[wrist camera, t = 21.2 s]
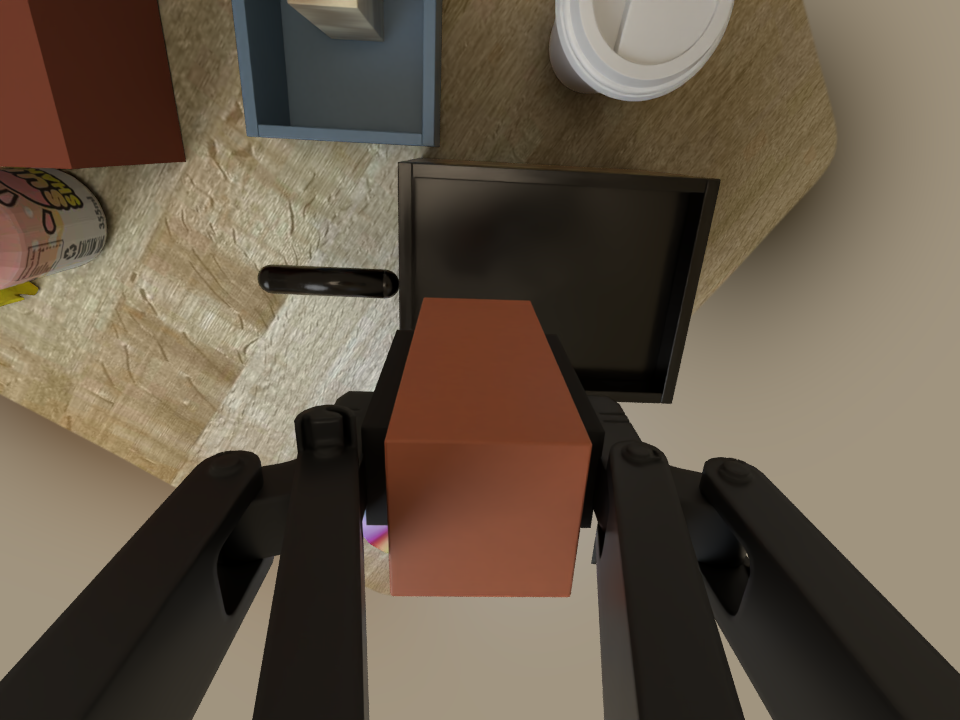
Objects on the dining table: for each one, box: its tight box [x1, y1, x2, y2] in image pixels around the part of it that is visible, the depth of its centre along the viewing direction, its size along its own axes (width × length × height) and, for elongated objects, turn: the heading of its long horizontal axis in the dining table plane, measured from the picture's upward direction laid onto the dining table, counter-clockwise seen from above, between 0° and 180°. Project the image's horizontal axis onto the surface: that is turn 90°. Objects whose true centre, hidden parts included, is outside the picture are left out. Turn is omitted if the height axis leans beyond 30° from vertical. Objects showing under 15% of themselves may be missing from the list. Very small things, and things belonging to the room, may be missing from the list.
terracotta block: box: [384, 298, 592, 597], centre depth 15 cm, size 4×4×10 cm
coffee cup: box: [549, 0, 734, 101], centre depth 32 cm, size 10×10×15 cm
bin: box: [231, 0, 442, 147], centre depth 36 cm, size 13×13×8 cm
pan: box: [258, 158, 721, 404], centre depth 38 cm, size 28×15×15 cm, turn 87°
